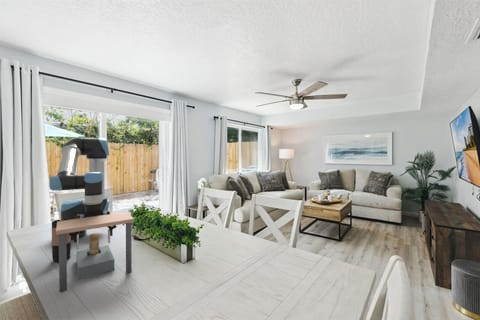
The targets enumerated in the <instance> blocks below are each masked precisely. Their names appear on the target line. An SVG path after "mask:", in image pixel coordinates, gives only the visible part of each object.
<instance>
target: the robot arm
mask: <svg viewBox="0 0 480 320" xmlns="http://www.w3.org/2000/svg"><path fill="white" fill-rule="evenodd" d="M109 150H110V149H109V144H108V140H107V139H106V138H104V137H103V138H101V137H81V136H80V137H75V138H72V139H70V140H68V141H67V142H66V143H64V145H62V147H61V149H60V153H61V158H60V162H59V166H58V170H57V173H56V174H55V175H50V177H49V182H48V186H49V189H50V190H51V191H53V192H54V191H60V192H61V191H71V190H72V191H73V190H84V199H82V198H79V199H78V198H77V199H71V200H69V201H68V200H67V201H64V202H62V204H61V206H60V220H64V219H70V220H72V219H79V218H87V217H94V216H101V215H109V214H111V212H110V210H109V208H110V199H109V198H108V197H107V195H106V194H105V161H106V160H107V159H108V157H109V156H110V151H109ZM80 156H86V159H87V161H88V163H89V166H88V170H89V171H88V172H85V173H84V174H76V171H77V164H78V158H79V157H80ZM106 228H108V229H107V243H108V244H111V237H112V236H113V230H114V229H116V228H117V225H114V226H107V227H106ZM69 236H71V241H72V240H73V243H74V244H76V250H78V251H79V250H80V238H82V237H85V236H87V230H83V231H77V232H71V233H69Z"/></svg>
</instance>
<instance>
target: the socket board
mask: <svg viewBox="0 0 480 320" xmlns="http://www.w3.org/2000/svg"><path fill="white" fill-rule="evenodd" d="M75 255H76V256H75V257H76V270H77V271H76V272H77V279H78V280H81V279H83V278H84V279H85V278H89V277H92V276H96V275H101V274H102V273H103V274H104V273H108V272H110V271H114V270H115V257H114V255H113V253H112V250H111V248H110V246H109V244H108V245H101V246H99V253H98V254H94V255H90V256H89V248H87V249H84V250H83V249H82V250H78V251H76V254H75Z"/></svg>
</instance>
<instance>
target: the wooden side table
mask: <svg viewBox="0 0 480 320" xmlns="http://www.w3.org/2000/svg"><path fill="white" fill-rule="evenodd" d="M133 223H135V219H134V217H133V216H132V215H131V214H130V213H129V212H128V211H125V212H118V213H117V212H116V213H110V214H109V215H101V216H94V217H87V218H79V219H72V220H64V221H57V227H56V235H58V234H59V263H58V275H59V276H58V281H59V282H58V283H59V285H58V287H59V289H58V290H59V293H64V292H66V291H67V290H68V267H67V266H68V262H67V261H68V260H67V241H66V233H71V232H77V231H83V230H86V231H88V230H93V229H94V230H95V229H102V228H108V227H107V226H114V225H116V226H119V225H124V224H125V274H130V273H132V271H133V270H132V268H133V267H132V264H133V263H132V256H133V255H132V251H133V250H132V243H133V242H132V239H133V238H132V237H133V235H132V234H133V232H132V230H133V229H132V226H133V225H132V224H133Z"/></svg>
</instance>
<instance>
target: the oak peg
mask: <svg viewBox="0 0 480 320" xmlns="http://www.w3.org/2000/svg"><path fill="white" fill-rule="evenodd" d="M99 247H100V232H94V233H90V234H89V247H88V249H89V256H90V255H94V254H98V253H99Z"/></svg>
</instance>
